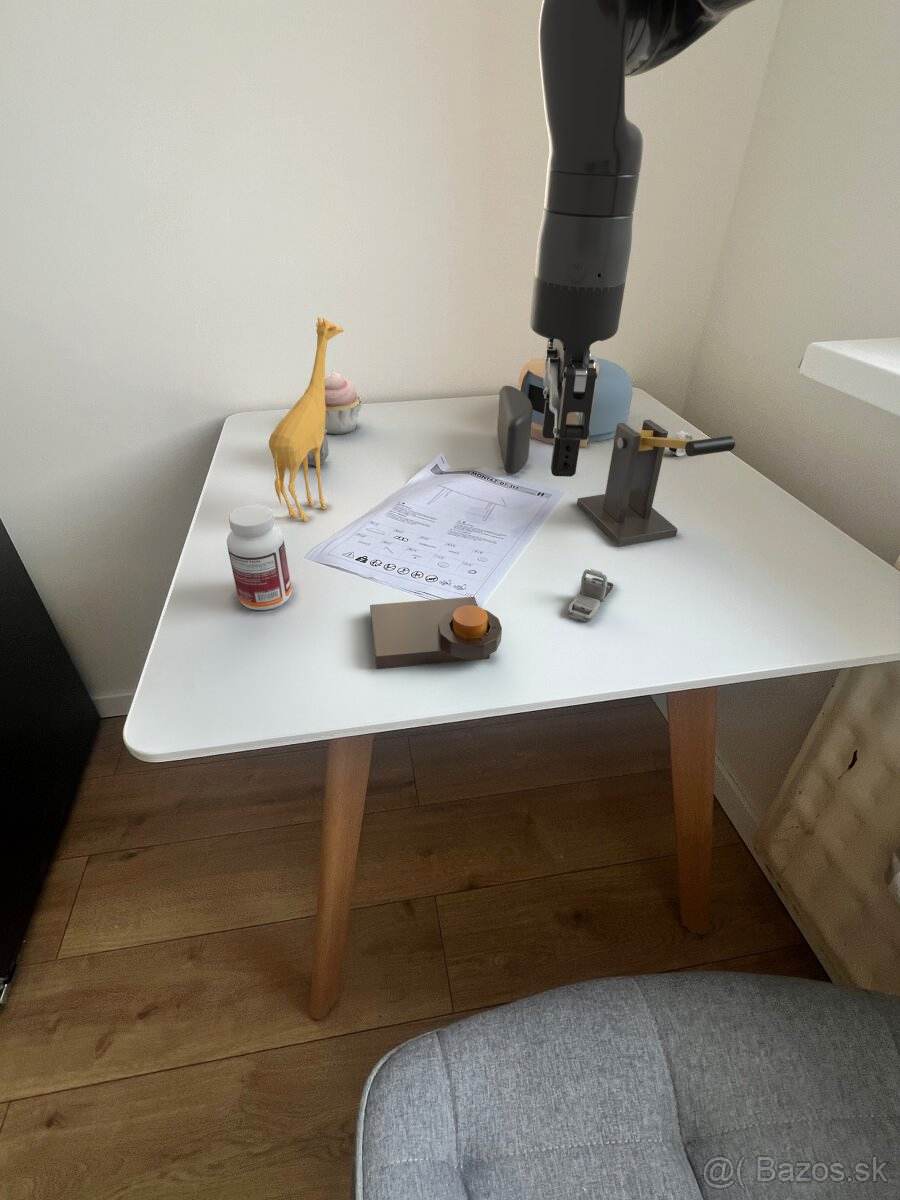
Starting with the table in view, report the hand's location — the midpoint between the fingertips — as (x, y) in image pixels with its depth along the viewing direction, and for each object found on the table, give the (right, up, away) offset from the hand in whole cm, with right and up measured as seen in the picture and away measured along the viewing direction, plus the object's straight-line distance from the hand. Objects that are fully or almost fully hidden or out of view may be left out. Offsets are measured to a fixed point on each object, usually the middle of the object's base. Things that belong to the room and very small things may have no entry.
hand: (557, 454), depth 67 cm
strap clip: (+6, -14, +16) cm, 22 cm away
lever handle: (+17, +4, +19) cm, 25 cm away
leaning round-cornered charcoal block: (-1, +10, +48) cm, 49 cm away
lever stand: (+14, -3, +31) cm, 35 cm away
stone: (-32, +8, +45) cm, 55 cm away
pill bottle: (-32, -14, +15) cm, 38 cm away
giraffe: (-29, -1, +33) cm, 44 cm away
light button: (-8, -17, +6) cm, 20 cm away
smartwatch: (+28, +10, +50) cm, 58 cm away
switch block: (-12, -19, +9) cm, 24 cm away
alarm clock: (+12, +18, +60) cm, 63 cm away
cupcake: (-30, +16, +56) cm, 66 cm away
